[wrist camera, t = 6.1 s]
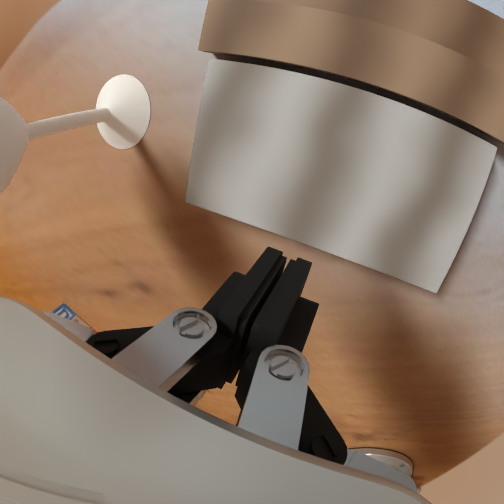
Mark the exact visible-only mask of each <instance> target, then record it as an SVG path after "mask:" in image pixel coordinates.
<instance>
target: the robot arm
mask: <svg viewBox="0 0 504 504" xmlns="http://www.w3.org/2000/svg"><path fill="white" fill-rule="evenodd" d="M282 254H283V252H282V251H279V250H276V249H274V248H271V247H267V248H266V250H265V251H264V252H263V254H262V255H261V256H260V258H259V259H258V260H257V261H256V263H255V264H254V265H253V267H252V268H251V269H250V270H249V272H248V273H247V274H246V275H243V274H241V273H238V272H234V273H233V274H232V275H231V276H230V277H229V278H228V279H227V280H226V282H225V283H224V284H223V285H222V286H221V287H220V289H219V290H218V291H217V292H216V293H215V294H214V296H213V297H212V298H211V299H210V300H209V301H208V303H207V304H206V305H205V306H204V307H203V309H198V308H193V307H186V308H181V309H178V310H176V311H174V312H173V313H171V314H170V315H169V316H167V317H166V318H165V319H163V320H162V321H161V322H159V323H158V324H157V325H155V326H152V327H142V328H132V329H122V330H110V331H103V332H98V333H94V329H92V328H89V327H87V326H84V325H82V324H79V323H76V322H74V321H71V320H69V319H66V318H64V317H62V316H59V315H57V314H54V313H52V312H48V311H42V312H41V311H39V310H37V309H36V308H34V307H32V306H30V305H28V304H26V303H23V302H21V301H19V300H15V299H12V298H8V297H3V296H0V504H431V503H430V502H429V501H428V500H426V499H425V498H424V497H422V496H421V495H419V493H420V491H421V487H419V486H416V484H415V482H414V481H413V479H412V478H411V477H410V476H411V475H412V470H413V464H412V462H411V461H410V460H409V459H408V458H407V457H406V456H404V455H402V454H400V453H397V452H394V451H389V450H384V449H375V448H357V449H347V446H346V444H345V442H344V440H343V438H342V437H341V435H340V434H339V432H338V431H337V429H336V428H335V426H334V425H333V423H332V422H331V420H330V419H329V417H328V415H327V414H326V412H325V411H324V409H323V408H322V406H321V405H320V403H319V402H318V400H317V398H316V397H315V395H314V394H313V392H312V391H311V389H310V388H309V386H308V380H309V373H310V367H309V363H308V361H307V358H306V357H305V356H304V355H303V354H302V351H303V348H304V345H305V343H306V340H307V337H308V334H309V332H310V329H311V326H312V323H313V320H314V317H315V315H316V312H317V309H318V306H319V304H318V303H315V302H313V301H310V300H308V299H305V298H302V297H300V296H301V293H302V290H303V288H304V285H305V282H306V279H307V276H308V274H309V271H310V268H311V265H312V262H309V261H306V260H304V259H301V258H297V260H296V261H295V260H292V259H291V260H290V261H289V263H288V265H287V267H286V268H285V270H284V266H285V263H286V259H287V257H284V256H282ZM283 270H284V272H283ZM239 370H240V371H239ZM238 371H239V374H238V378H237V381H236V386H238V387H237V390H236V394H235V398H236V400H237V402H238V404H239V406H240V408H241V411H240V414H239V417H238V420H237V423H236V426H235V425H233V424H230V423H228V422H226V421H224V420H222V419H219V418H217V417H215V416H213V415H211V414H209V413H207V412H205V411H202V410H200V409H198V408H196V407H194V406H195V405H196V403H197V402H198V401H199V400H200V399H201V398H202V397H203V396H204V394H205V393H206V390H208V389H213V388H217V387H218V388H220V389H222V387H223V386H224V384H225V382H229V383H232V382H233V380H234V378H235V376H236V375H237V373H238Z"/></svg>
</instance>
